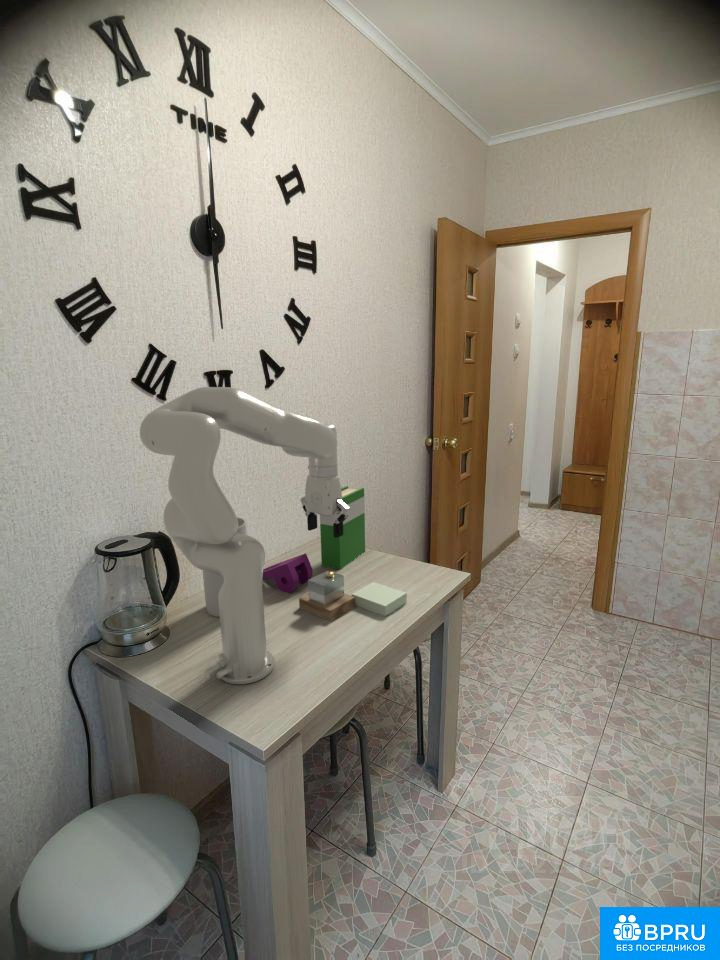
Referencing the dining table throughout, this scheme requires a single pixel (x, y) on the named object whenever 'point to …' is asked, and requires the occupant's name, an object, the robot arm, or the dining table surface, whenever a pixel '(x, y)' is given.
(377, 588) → the stand
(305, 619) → the dining table surface
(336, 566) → the hardback book
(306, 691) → the dining table surface
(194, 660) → the dining table surface
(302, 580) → the mounting bracket
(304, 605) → the stand
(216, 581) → the cylinder vase
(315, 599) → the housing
